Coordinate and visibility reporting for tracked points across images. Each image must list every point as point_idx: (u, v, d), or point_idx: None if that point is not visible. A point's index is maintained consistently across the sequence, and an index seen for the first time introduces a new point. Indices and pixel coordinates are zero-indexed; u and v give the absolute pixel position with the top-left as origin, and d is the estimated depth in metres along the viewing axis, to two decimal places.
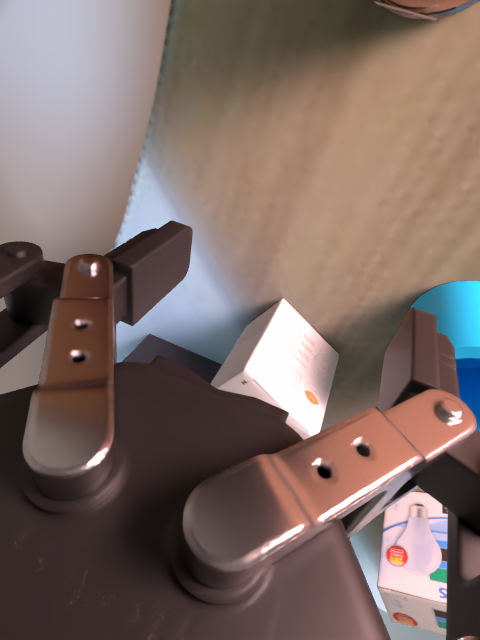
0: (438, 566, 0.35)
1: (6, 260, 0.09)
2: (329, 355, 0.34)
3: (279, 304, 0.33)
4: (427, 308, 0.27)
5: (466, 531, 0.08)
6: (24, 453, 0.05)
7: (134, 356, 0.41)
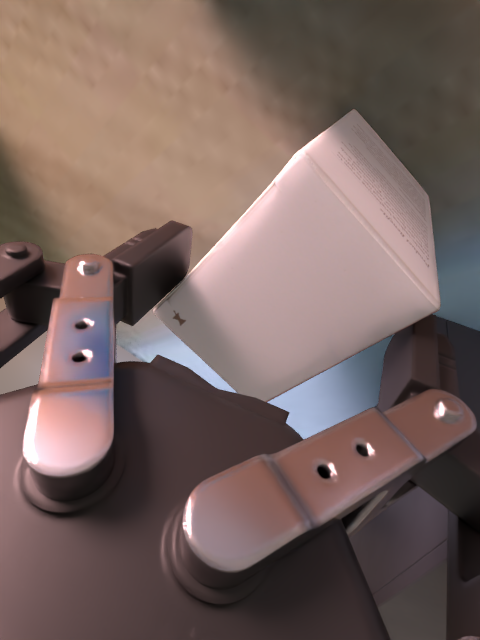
0: None
1: (6, 260, 0.09)
2: None
3: None
4: None
5: (466, 531, 0.08)
6: (24, 453, 0.05)
7: None
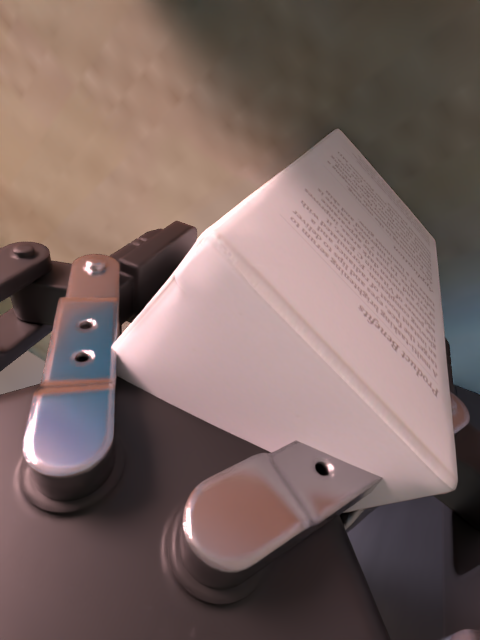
0: None
1: (13, 260, 0.10)
2: None
3: None
4: None
5: (460, 525, 0.08)
6: (24, 452, 0.05)
7: None
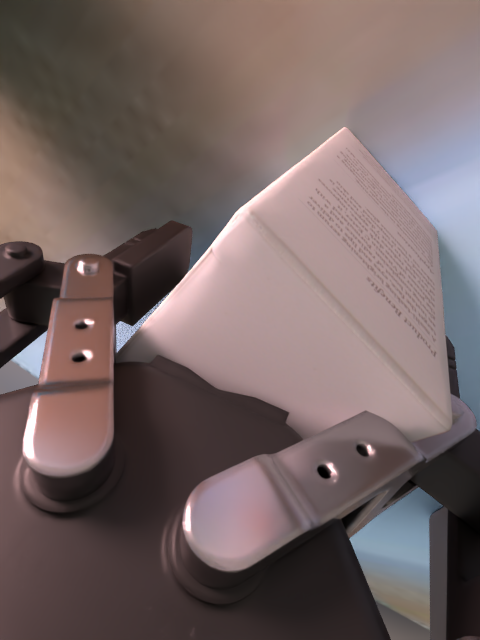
0: None
1: (6, 260, 0.09)
2: None
3: None
4: None
5: (466, 531, 0.08)
6: (24, 453, 0.05)
7: None
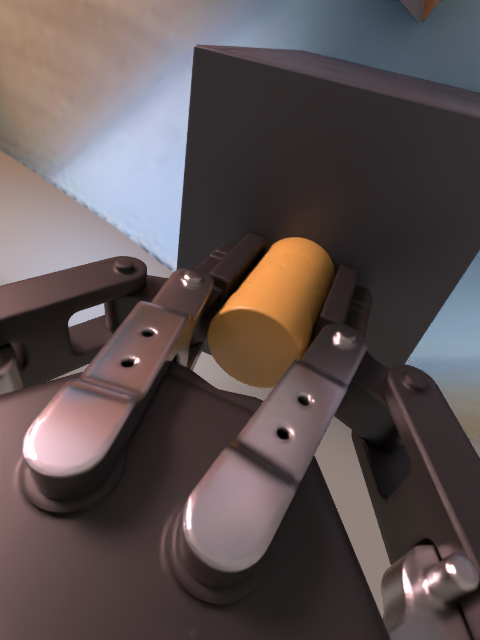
0: None
1: (111, 272, 0.10)
2: None
3: None
4: None
5: (373, 453, 0.09)
6: (25, 435, 0.05)
7: None
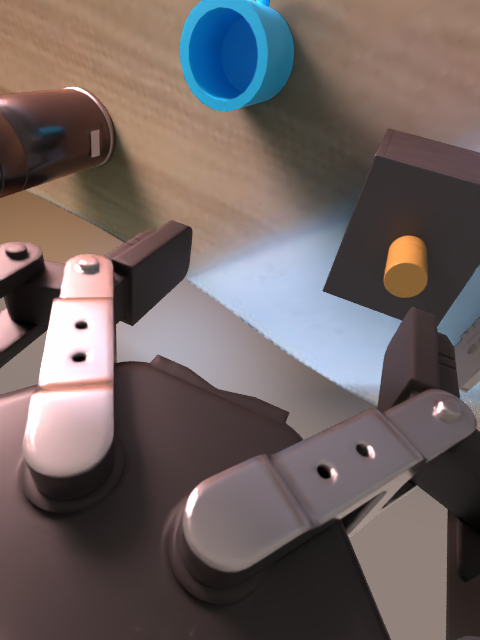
0: None
1: (6, 260, 0.09)
2: None
3: None
4: None
5: (466, 531, 0.08)
6: (24, 453, 0.05)
7: None
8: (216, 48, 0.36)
